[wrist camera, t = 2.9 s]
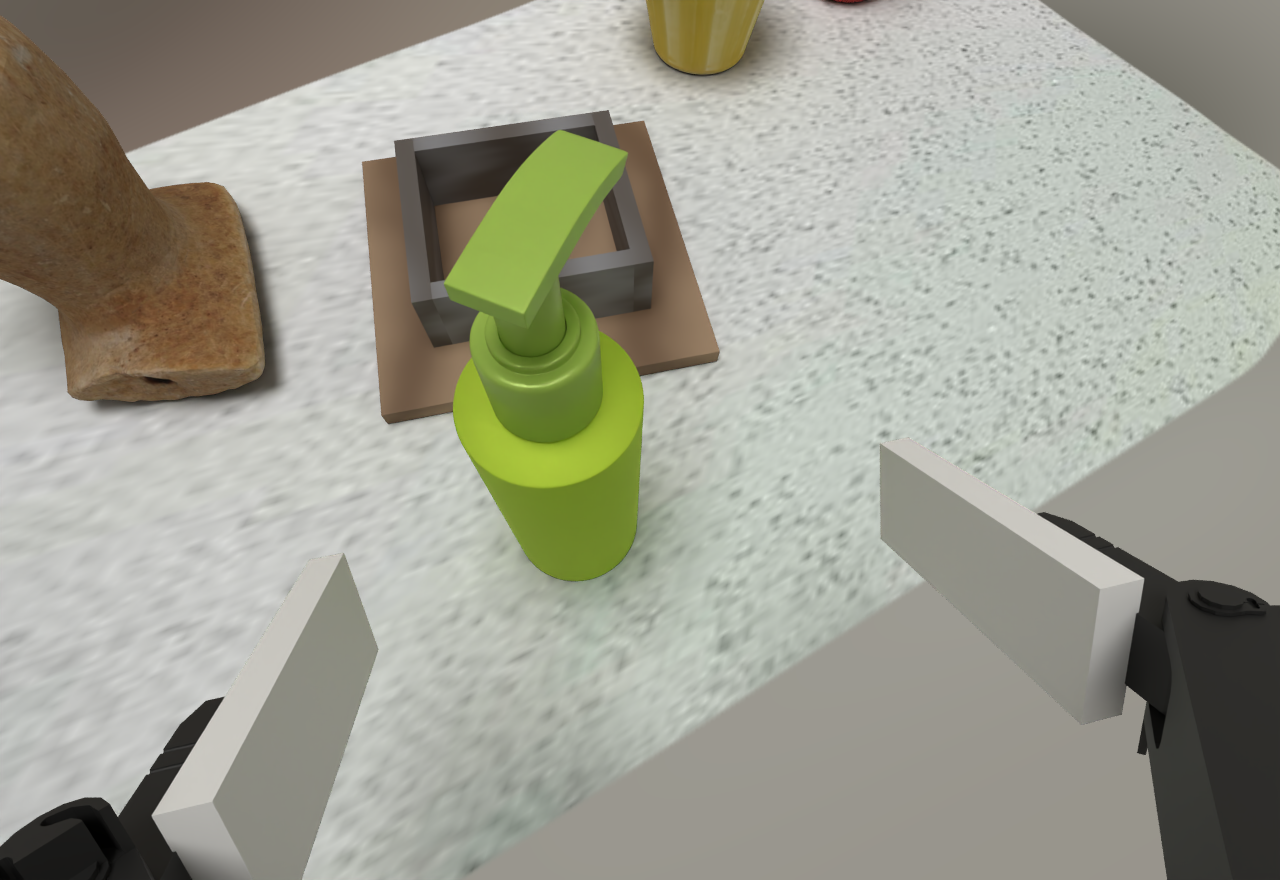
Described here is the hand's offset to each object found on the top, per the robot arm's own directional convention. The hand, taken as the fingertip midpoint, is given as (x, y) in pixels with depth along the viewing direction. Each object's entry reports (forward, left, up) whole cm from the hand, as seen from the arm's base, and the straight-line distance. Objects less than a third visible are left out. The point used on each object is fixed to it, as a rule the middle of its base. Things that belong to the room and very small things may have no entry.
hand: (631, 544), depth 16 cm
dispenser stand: (-1, +22, -15) cm, 27 cm away
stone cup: (-22, +23, -16) cm, 36 cm away
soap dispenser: (-1, +6, -16) cm, 17 cm away
